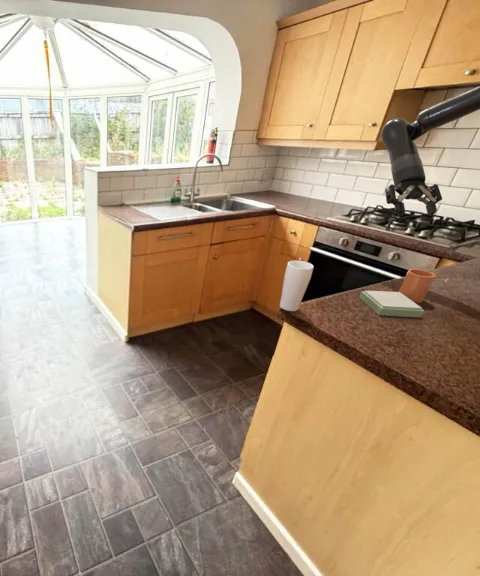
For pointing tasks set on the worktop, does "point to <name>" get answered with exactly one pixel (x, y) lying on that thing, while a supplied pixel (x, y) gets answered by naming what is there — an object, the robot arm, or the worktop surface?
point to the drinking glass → (295, 284)
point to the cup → (416, 284)
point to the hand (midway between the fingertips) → (416, 214)
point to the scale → (391, 304)
